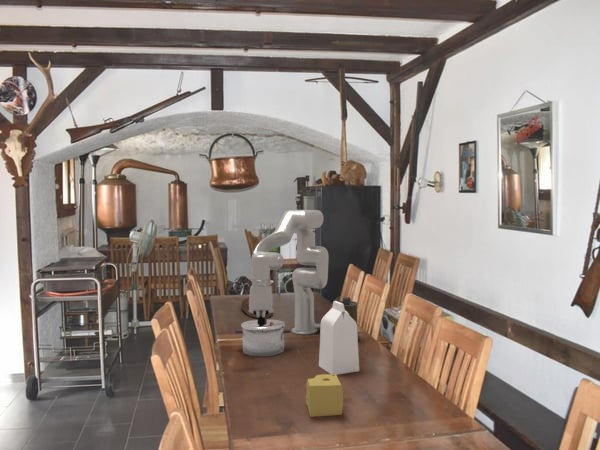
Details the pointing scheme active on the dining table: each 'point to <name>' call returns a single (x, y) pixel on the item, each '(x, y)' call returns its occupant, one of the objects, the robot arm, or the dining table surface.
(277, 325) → the lid
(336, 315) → the milk
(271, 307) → the robot arm
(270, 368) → the dining table surface
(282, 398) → the dining table surface
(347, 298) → the canister
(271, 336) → the pot
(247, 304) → the bread
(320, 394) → the cheese
